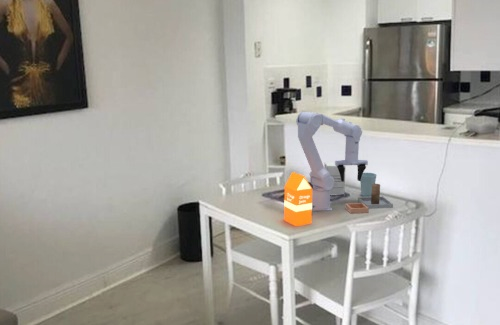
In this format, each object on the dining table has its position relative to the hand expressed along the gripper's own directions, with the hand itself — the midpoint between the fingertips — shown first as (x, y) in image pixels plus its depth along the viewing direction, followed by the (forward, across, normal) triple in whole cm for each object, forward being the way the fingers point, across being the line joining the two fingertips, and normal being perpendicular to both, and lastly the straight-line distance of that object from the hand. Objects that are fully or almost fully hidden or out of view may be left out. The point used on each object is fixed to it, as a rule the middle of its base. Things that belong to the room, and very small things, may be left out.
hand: (350, 180), depth 235 cm
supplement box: (+11, -3, +16) cm, 19 cm away
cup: (+11, +12, +11) cm, 19 cm away
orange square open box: (+10, -1, -13) cm, 17 cm away
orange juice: (+11, -29, -23) cm, 39 cm away
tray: (+10, +10, -5) cm, 15 cm away
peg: (+10, +10, -5) cm, 15 cm away
